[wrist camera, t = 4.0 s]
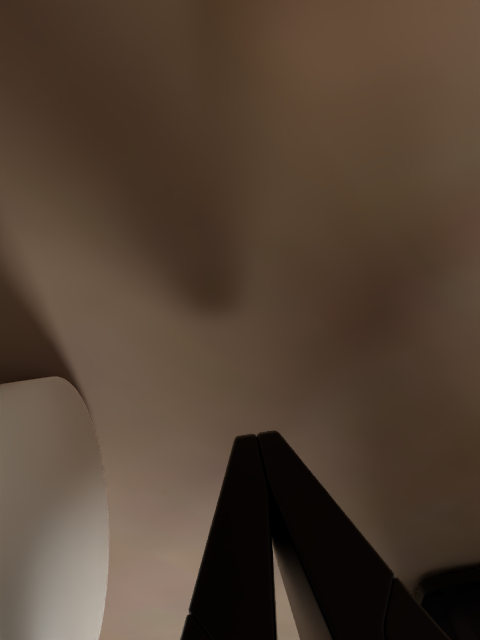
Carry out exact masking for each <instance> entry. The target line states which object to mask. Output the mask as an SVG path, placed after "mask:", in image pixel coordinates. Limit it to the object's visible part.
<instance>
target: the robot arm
mask: <svg viewBox="0 0 480 640" xmlns="http://www.w3.org/2000/svg"><path fill="white" fill-rule="evenodd" d="M272 543H273V548H274V551H275V555H276V559H277V562H278V566H279V569H280V572H281V576H282V579H283V583H284V586H285V589H286V593H287V596H288V600H289V603H290V606H291V610H292V613H293V617H294V620H295V623H296V627H297V630H298V634H299V637H300V640H480V568H478V569H473V570H467V571H462V572H456V573H451V574H445V575H440V576H434V577H430V578H427V579H425V580H423V581H422V582H421V583H420V584H419V586H418V589H417V593H416V596H415V598H414V597H413V596H412V595H411V593H410V592H409V591H408V590H407V589H406V587H405V586H404V585H403V584H402V582H401V581H400V580H399V579H398V578H394V573H393V572H392V570H391V569H390V568H389V567H388V566H387V564H386V563H385V562H384V561H383V559H382V558H381V557H380V556H379V555H378V553H377V552H376V551H375V550H374V548H373V547H372V546H371V545H370V544H369V542H368V541H367V540H366V539H365V537H364V536H363V535H362V534H361V532H360V531H359V530H358V529H357V528H356V526H355V525H354V524H353V523H352V521H351V520H350V519H349V518H348V517H347V515H346V514H345V513H344V512H343V510H342V509H341V508H340V507H339V506H338V504H337V503H336V502H335V501H334V499H333V498H332V497H331V496H330V494H329V493H328V492H327V491H326V490H325V488H324V487H323V486H322V485H321V483H320V482H319V481H318V480H317V479H316V477H315V476H314V475H313V474H312V472H311V471H310V470H309V469H308V468H307V466H306V465H305V464H304V463H303V461H302V460H301V459H300V458H299V456H298V455H297V454H296V453H295V452H294V450H293V449H292V448H291V447H290V445H289V444H288V443H287V442H286V441H285V439H284V438H283V437H282V436H281V434H280V433H279V432H277V431H267V432H261V433H258V434H257V437H256V435H255V434H248V435H241V436H237V437H236V438H235V440H234V443H233V446H232V450H231V454H230V458H229V461H228V465H227V469H226V473H225V476H224V480H223V484H222V487H221V491H220V495H219V499H218V502H217V506H216V510H215V513H214V517H213V521H212V525H211V528H210V532H209V536H208V540H207V543H206V547H205V551H204V554H203V558H202V562H201V566H200V569H199V573H198V577H197V580H196V584H195V588H194V592H193V595H192V599H191V603H190V607H189V614H188V615H187V617H186V620H185V624H184V628H183V632H182V635H181V639H180V640H278V637H277V619H276V601H275V583H274V565H273V548H272Z"/></svg>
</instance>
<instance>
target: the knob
mask: <svg viewBox="0 0 480 640" xmlns="http://www.w3.org/2000/svg"><path fill="white" fill-rule="evenodd" d="M108 562H109V519H108V502H107V491H106V482H105V475H104V468H103V462H102V457H101V451H100V447H99V443H98V439H97V435H96V432H95V428H94V425H93V422H92V419H91V416H90V414H89V411H88V409H87V407H86V405H85V403H84V401H83V399H82V397H81V395H80V394H79V393H78V391H77V390H76V388H75V387H74V386H73V385H72V384H71V383H70V382H68V381H67V380H65V379H64V378H61V377H46V378H39V379H32V380H25V381H18V382H12V383H5V384H0V640H99V635H100V631H101V626H102V620H103V614H104V608H105V599H106V591H107V579H108Z"/></svg>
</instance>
